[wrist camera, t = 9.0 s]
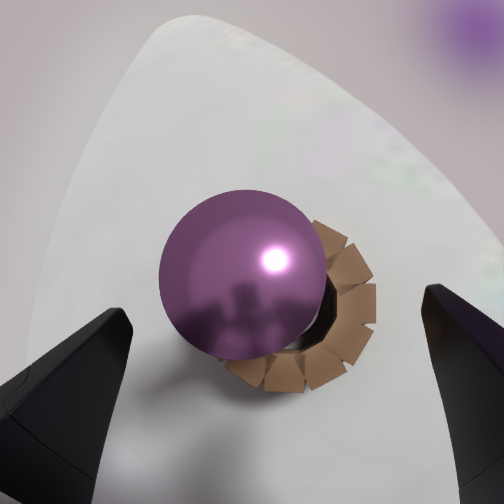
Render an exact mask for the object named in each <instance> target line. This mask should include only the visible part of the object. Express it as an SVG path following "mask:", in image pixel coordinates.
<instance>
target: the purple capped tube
mask: <svg viewBox="0 0 504 504" xmlns="http://www.w3.org/2000/svg"><path fill="white" fill-rule="evenodd" d="M326 278H327V265H326V258H325V253H324V249H323V246H322V242H321V240H320V238H319V236H318V233H317V231H316V230H315V228H314V227H313V225H312V223H311V222H310V221H309V220H308V219H307V217H306V216H305V215H304V214H303V213H302V212H301V211H300V210H299V209H298V208H296V207H295V206H294V205H292V204H291V203H289V202H288V201H286V200H284V199H282V198H280V197H278V196H276V195H273V194H270V193H267V192H262V191H256V190H236V191H230V192H225V193H222V194H219V195H216V196H213V197H211V198H209V199H207V200H205V201H203V202H202V203H200V204H198V205H197V206H196V207H194V208H193V209H192V210H190V211H189V212H188V213H187V214H186V215H185V216H184V217H183V218H182V219H181V220H180V222H179V223H178V224H177V225H176V227H175V228H174V230H173V231H172V233H171V234H170V236H169V238H168V240H167V242H166V245H165V247H164V250H163V253H162V257H161V261H160V267H159V289H160V295H161V299H162V303H163V306H164V309H165V311H166V313H167V316H168V318H169V319H170V321H171V323H172V324H173V326H174V327H175V328H176V330H177V331H178V332H179V334H180V335H181V336H183V337H184V338H185V339H186V340H187V341H188V342H189V343H190V344H192V345H193V346H195V347H196V348H198V349H199V350H201V351H203V352H205V353H207V354H210V355H213V356H215V357H219V358H223V359H229V360H251V359H256V358H261V357H264V356H267V355H270V354H273V353H275V352H277V351H279V350H281V349H283V348H284V347H286V346H287V345H289V344H290V343H291V342H293V341H294V340H295V339H297V338H298V337H299V336H300V335H302V334H303V333H304V332H305V331H307V330H308V329H309V328H310V327H311V326H312V325H313V324H314V322H315V320H316V318H317V315H318V312H319V309H320V305H321V302H322V298H323V295H324V291H325V286H326Z"/></svg>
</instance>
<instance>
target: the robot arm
mask: <svg viewBox="0 0 504 504" xmlns="http://www.w3.org/2000/svg"><path fill="white" fill-rule="evenodd" d="M421 315H422V320H423V324H424V329H425V333H426V338H427V343H428V348H429V353H430V358H431V362H432V366H433V370H434V373H435V376H436V380H437V383H438V387H439V391H440V395H441V398H442V402H443V406H444V410H445V415H446V419H447V423H448V428H449V433H450V438H451V443H452V448H453V453H454V459H455V465H456V472H457V479H458V487H459V488H460V489H459V497H460V504H504V328H503V327H502V326H500V325H499V324H497V323H496V322H495V321H493V320H492V319H491V318H489V317H488V316H486V315H485V314H484V313H482V312H481V311H479V310H478V309H477V308H475V307H474V306H472V305H471V304H470V303H468V302H467V301H465V300H464V299H462V298H461V297H459V296H458V295H456V294H455V293H453V292H452V291H451V290H449V289H448V288H446V287H445V286H443V285H441V284H431V285H428V286H426V288H425V292H424V297H423V302H422V307H421ZM132 336H133V327H132V325H131V323H130V321H129V319H128V317H127V315H126V313H125V311H124V310H123V309H122V308H109V309H108V310H106V311H105V312H103V313H102V314H101V315H99V316H98V317H96V318H95V319H93V320H92V321H91V322H89V323H88V324H86V325H85V326H84V327H82V328H81V329H79V330H78V331H76V332H75V333H74V334H72V335H71V336H69V337H68V338H67V339H65V340H64V341H63V342H61V343H60V344H58V345H57V346H56V347H54V348H53V349H51V350H50V351H49V352H47V353H46V354H45V355H43V356H42V357H40V358H39V359H38V360H36V361H35V362H34V363H32V365H30V366H28V367H27V368H26V369H24V370H23V371H21V372H20V373H19V374H17V375H16V376H15V377H13V378H12V379H10V380H9V381H7V382H6V383H4V384H3V385H2V386H0V504H91V503H92V498H93V493H94V488H95V483H96V478H97V473H98V469H99V464H100V460H101V456H102V452H103V448H104V444H105V440H106V436H107V432H108V428H109V425H110V421H111V417H112V414H113V410H114V407H115V403H116V400H117V396H118V393H119V390H120V386H121V383H122V380H123V376H124V373H125V368H126V364H127V359H128V354H129V350H130V345H131V341H132Z"/></svg>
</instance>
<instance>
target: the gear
mask: <svg viewBox="0 0 504 504" xmlns="http://www.w3.org/2000/svg"><path fill="white" fill-rule="evenodd" d="M312 225H313V227H314V228H315V230H316V231H317V233H318V236H319V238H320V240H321V242H322V246H323V249H324V253H325V258H326V265H327V278H326V284H327V285H328V287H329V289H330V291H331V292H332V294H333V296H334V311H333V320H332V322H331V324H330V325H329V327H328V329H327V330H326V332H325V333H324V335H323V337H322V338H321V339H319V340H317V341H316V342H314V343H312V344H310V345H308V346H307V347H305V348H303V349H281V350H279V351H277V352H275V353H273V354H270V355H267V356H264V357H261V358H256V359H251V360H229V361H228V363H227V364H226V366H225V368H226V369H228V370H229V371H231V372H232V373H234V374H235V375H237V376H238V377H240V378H241V379H243V380H244V381H246V382H247V383H249V384H250V385H252V386H254V387H255V388H258V387H259V386H260V384H261V383H262V382H263V381H264V380H265V382H264V391H275V392H299V393H304V389H305V383H306V382H307V383H308V385H309V387H310V389H311V391H312V390H314V389H316V388H318V387H320V386H322V385H324V384H326V383H328V382H329V381H331V380H333V379H335V378H337V377H339V376H340V375H342V374H344V373H346V372H347V370H346V368H345V366H344V365H343V363H342V361H341V359H342V360H343V361H345V362H347V363H349V364H351V365H352V366H353V365H354V364H355V362H356V361H357V359H358V357H359V356H360V354H361V352H362V351H363V349H364V347H365V346H366V344H367V342H368V340H369V339H370V337H371V335H372V333H373V332H374V331H373V330H371V329H369V328H368V327H366V326H364V325H362V324H371V323H376V284H365V283H366V282H367V281H368V280H369V279H371V278H372V277H373V274H372V272H371V271H370V269H369V267H368V266H367V264H366V262H365V261H364V259H363V257H362V256H361V254H360V253H359V251H358V249H357V248H356V246H355V245H354V243H352V244H351V245H349V246H347V247H346V248H344V247H345V244H346V242H347V239H348V237H346V236H344V235H342V234H340V233H339V232H337V231H335V230H333V229H331V228H329V227H327V226H325V225H324V224H322V223H320V222H318V221H316V220H314V221H313V223H312ZM217 358H218V360H219V362H220V361H223V360H225V359H223V358H219V357H217Z"/></svg>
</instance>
